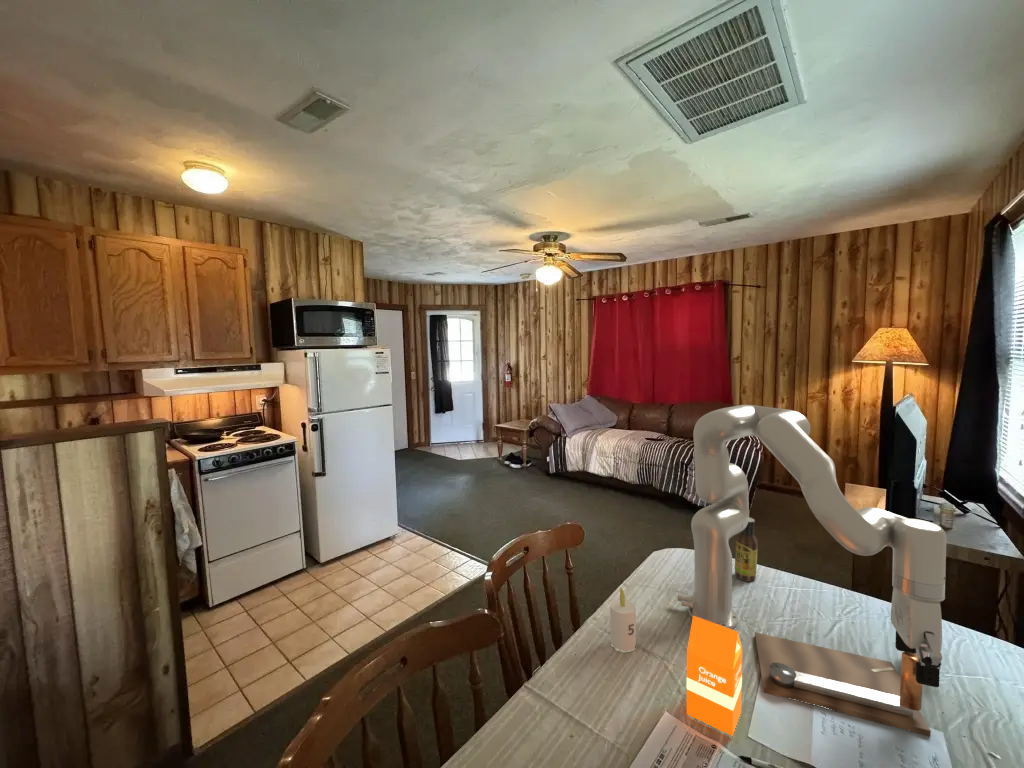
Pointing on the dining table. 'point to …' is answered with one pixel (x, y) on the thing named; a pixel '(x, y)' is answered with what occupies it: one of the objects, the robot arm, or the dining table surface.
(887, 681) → the lever base
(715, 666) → the orange juice
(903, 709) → the lever
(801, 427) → the robot arm
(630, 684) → the dining table surface
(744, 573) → the sauce bottle
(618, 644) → the candle
